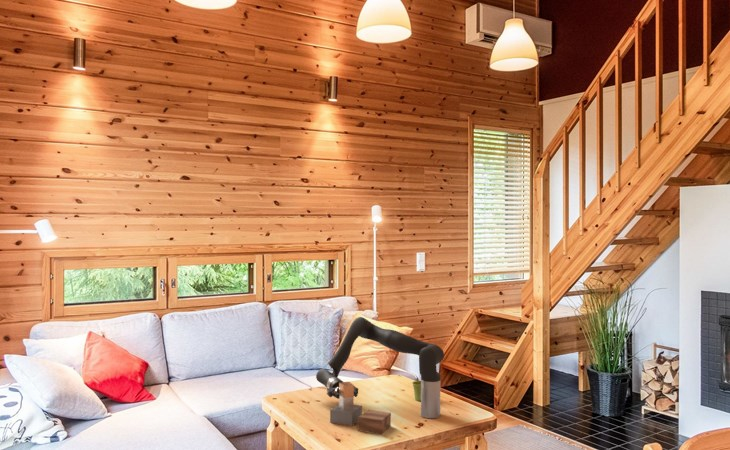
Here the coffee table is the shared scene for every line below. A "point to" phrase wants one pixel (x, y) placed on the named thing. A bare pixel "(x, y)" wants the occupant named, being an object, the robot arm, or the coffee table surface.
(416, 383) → the plant pot
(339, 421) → the stand
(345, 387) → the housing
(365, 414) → the stand
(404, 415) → the coffee table surface
